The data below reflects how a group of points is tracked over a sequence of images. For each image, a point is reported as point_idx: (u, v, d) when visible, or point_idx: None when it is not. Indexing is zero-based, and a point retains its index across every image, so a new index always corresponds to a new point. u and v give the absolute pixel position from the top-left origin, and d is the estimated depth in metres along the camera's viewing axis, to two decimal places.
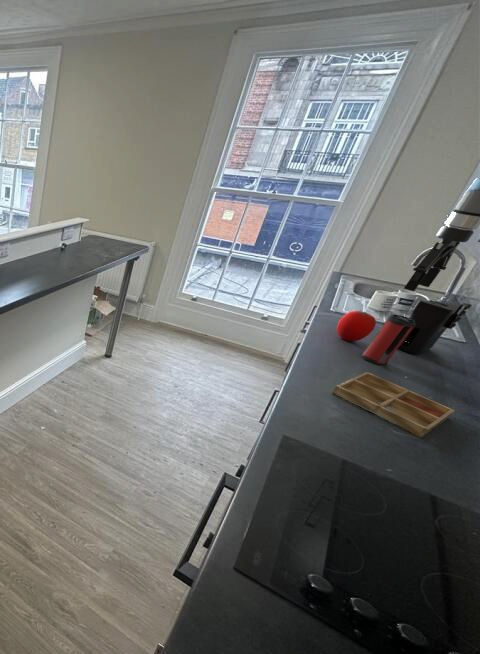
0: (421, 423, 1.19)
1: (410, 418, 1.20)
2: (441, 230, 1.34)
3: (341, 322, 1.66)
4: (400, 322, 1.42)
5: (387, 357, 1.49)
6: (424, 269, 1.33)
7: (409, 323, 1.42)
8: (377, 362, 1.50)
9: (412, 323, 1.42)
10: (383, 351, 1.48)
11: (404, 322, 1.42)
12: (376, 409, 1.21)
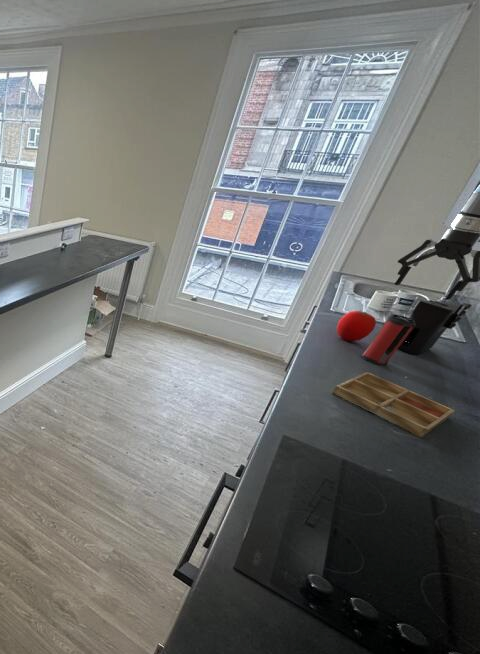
0: (421, 423, 1.19)
1: (410, 418, 1.20)
2: (469, 237, 1.26)
3: (341, 322, 1.66)
4: (400, 322, 1.42)
5: (387, 357, 1.49)
6: (479, 279, 1.28)
7: (409, 323, 1.42)
8: (377, 362, 1.50)
9: (412, 323, 1.42)
10: (383, 351, 1.48)
11: (404, 322, 1.42)
12: (376, 409, 1.21)
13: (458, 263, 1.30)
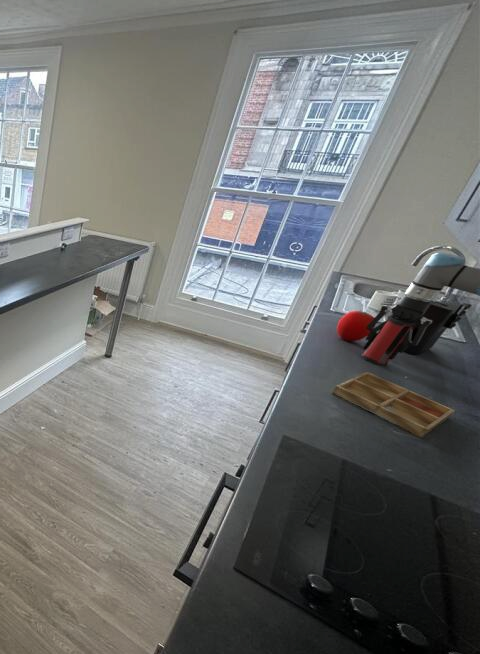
0: (421, 423, 1.19)
1: (410, 418, 1.20)
2: (420, 305, 1.38)
3: (341, 322, 1.66)
4: (400, 322, 1.42)
5: (387, 357, 1.49)
6: (417, 343, 1.43)
7: (409, 323, 1.42)
8: (377, 362, 1.50)
9: (412, 323, 1.42)
10: (383, 351, 1.48)
11: (404, 322, 1.42)
12: (376, 409, 1.21)
13: None
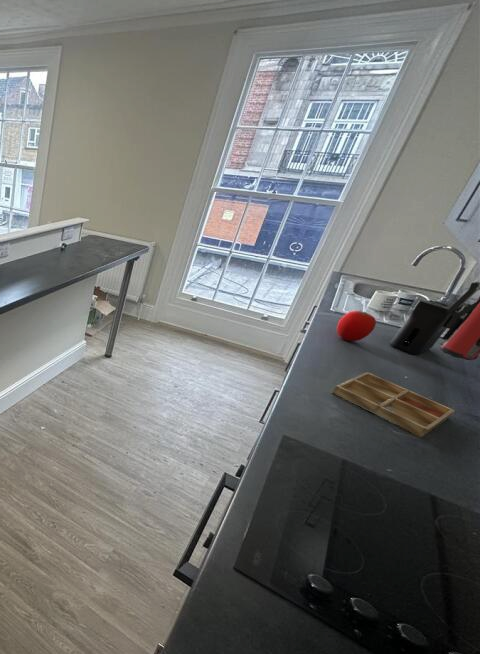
0: (421, 423, 1.19)
1: (410, 418, 1.20)
2: None
3: (341, 322, 1.66)
4: None
5: (478, 350, 1.13)
6: None
7: None
8: (463, 356, 1.14)
9: None
10: (472, 342, 1.12)
11: None
12: (376, 409, 1.21)
13: None
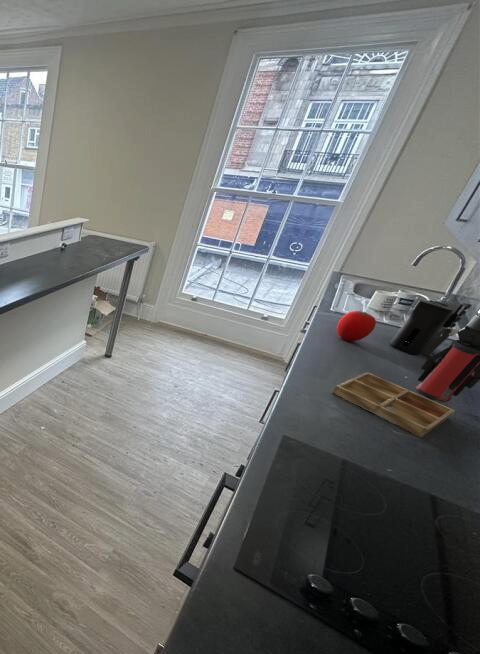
0: (421, 423, 1.19)
1: (410, 418, 1.20)
2: None
3: (341, 322, 1.66)
4: (471, 350, 1.11)
5: (450, 393, 1.17)
6: None
7: None
8: (437, 399, 1.18)
9: None
10: (445, 385, 1.16)
11: (476, 350, 1.10)
12: (376, 409, 1.21)
13: None
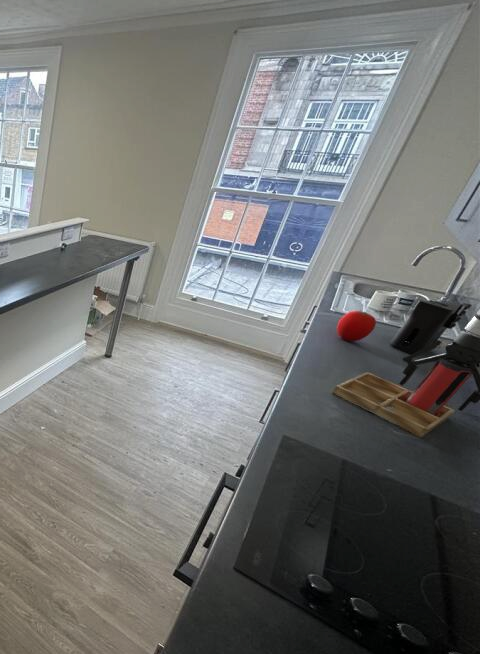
0: (421, 423, 1.19)
1: (410, 418, 1.20)
2: None
3: (341, 322, 1.66)
4: (456, 367, 1.14)
5: (437, 408, 1.20)
6: None
7: (468, 368, 1.13)
8: None
9: None
10: (432, 401, 1.19)
11: (462, 367, 1.13)
12: (376, 409, 1.21)
13: (473, 372, 1.13)
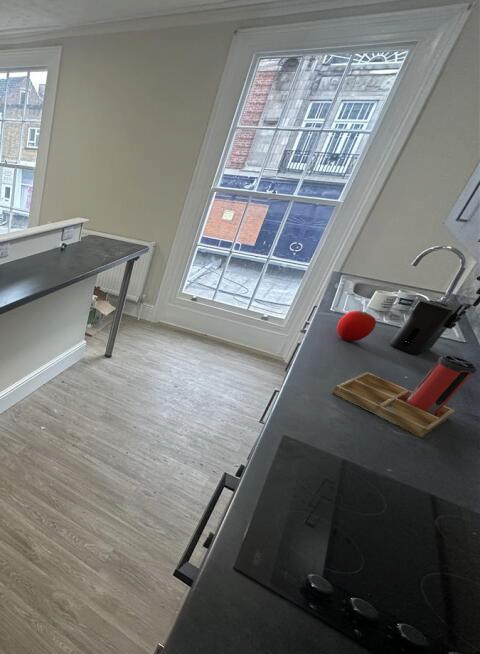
0: (421, 423, 1.19)
1: (410, 418, 1.20)
2: None
3: (341, 322, 1.66)
4: (456, 367, 1.14)
5: (437, 408, 1.20)
6: None
7: (468, 368, 1.13)
8: None
9: (472, 368, 1.13)
10: (432, 401, 1.19)
11: (462, 367, 1.13)
12: (376, 409, 1.21)
13: None
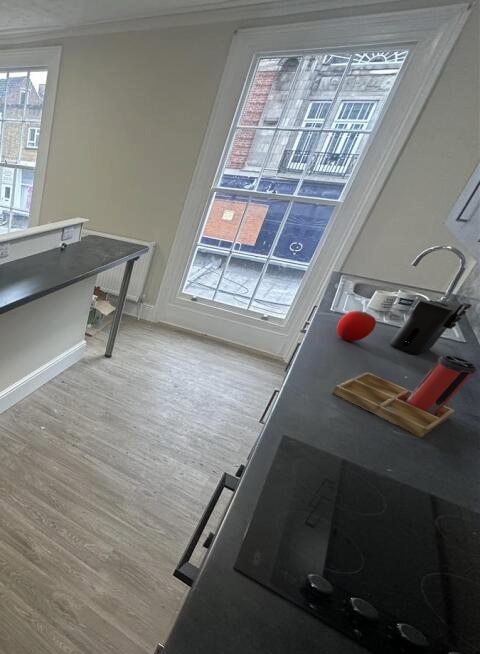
0: (421, 423, 1.19)
1: (410, 418, 1.20)
2: None
3: (341, 322, 1.66)
4: (456, 367, 1.14)
5: (437, 408, 1.20)
6: None
7: (468, 368, 1.13)
8: None
9: (472, 368, 1.13)
10: (432, 401, 1.19)
11: (462, 367, 1.13)
12: (376, 409, 1.21)
13: None
